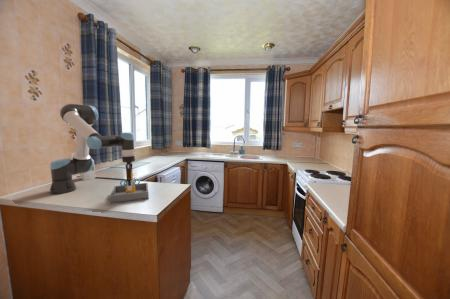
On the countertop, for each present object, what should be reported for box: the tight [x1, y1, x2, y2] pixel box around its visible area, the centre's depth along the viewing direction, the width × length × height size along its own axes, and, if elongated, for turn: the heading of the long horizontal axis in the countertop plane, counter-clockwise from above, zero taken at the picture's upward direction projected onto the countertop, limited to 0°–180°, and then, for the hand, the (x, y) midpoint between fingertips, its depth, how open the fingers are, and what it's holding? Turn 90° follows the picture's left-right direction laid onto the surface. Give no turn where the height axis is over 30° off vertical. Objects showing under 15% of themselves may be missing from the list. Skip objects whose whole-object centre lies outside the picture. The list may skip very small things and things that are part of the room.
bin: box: [109, 182, 150, 205], centre depth 138 cm, size 22×22×5 cm
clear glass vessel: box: [79, 159, 96, 181], centre depth 184 cm, size 10×9×17 cm
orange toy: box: [119, 169, 141, 193], centre depth 137 cm, size 12×10×15 cm
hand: (130, 187), depth 138 cm, fingers closed on orange toy, 11 cm apart
